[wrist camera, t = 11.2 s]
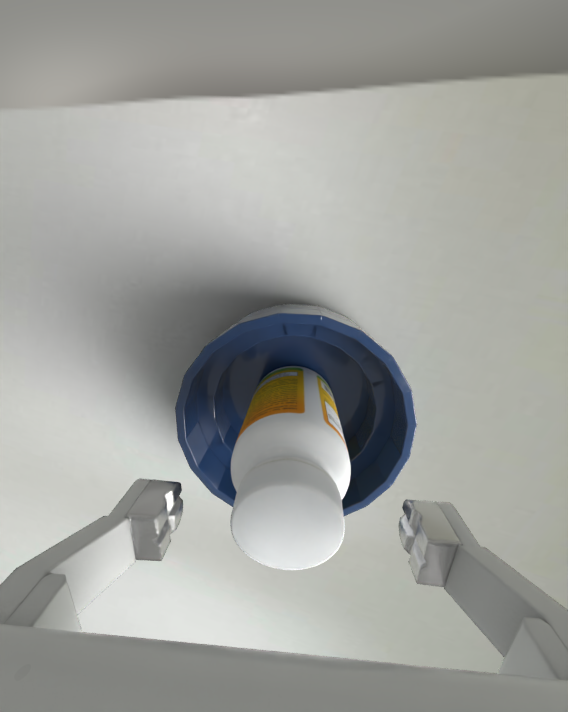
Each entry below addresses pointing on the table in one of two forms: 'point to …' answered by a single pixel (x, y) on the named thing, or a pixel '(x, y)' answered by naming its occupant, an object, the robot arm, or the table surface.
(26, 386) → the table surface
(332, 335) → the blue bowl
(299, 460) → the supplement bottle
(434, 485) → the table surface
